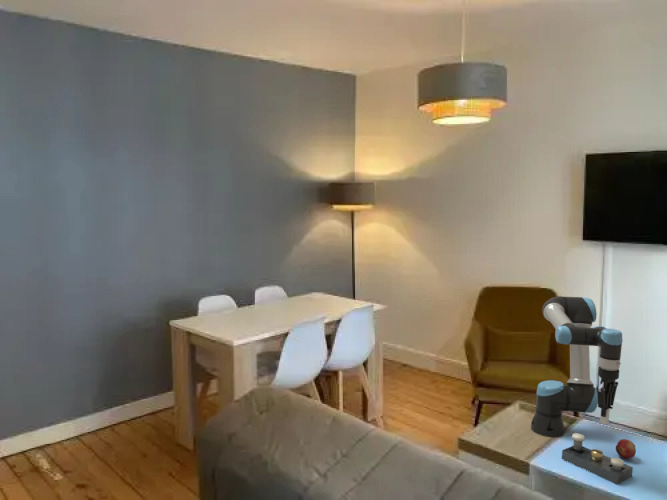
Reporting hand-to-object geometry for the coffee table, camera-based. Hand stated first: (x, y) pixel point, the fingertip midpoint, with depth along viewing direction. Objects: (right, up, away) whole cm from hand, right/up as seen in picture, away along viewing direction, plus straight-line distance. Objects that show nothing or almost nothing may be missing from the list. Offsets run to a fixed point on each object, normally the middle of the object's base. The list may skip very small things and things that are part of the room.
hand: (604, 423), depth 223 cm
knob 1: (-7, -14, +10) cm, 18 cm away
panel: (-2, -19, +3) cm, 20 cm away
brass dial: (-2, -15, +3) cm, 16 cm away
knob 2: (+3, -19, -4) cm, 20 cm away
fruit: (+15, -19, +12) cm, 27 cm away
